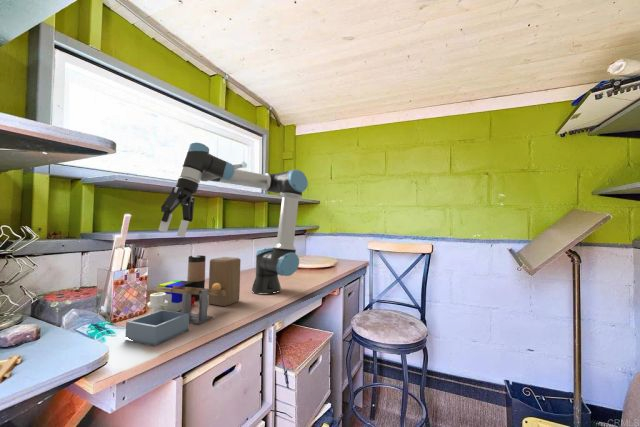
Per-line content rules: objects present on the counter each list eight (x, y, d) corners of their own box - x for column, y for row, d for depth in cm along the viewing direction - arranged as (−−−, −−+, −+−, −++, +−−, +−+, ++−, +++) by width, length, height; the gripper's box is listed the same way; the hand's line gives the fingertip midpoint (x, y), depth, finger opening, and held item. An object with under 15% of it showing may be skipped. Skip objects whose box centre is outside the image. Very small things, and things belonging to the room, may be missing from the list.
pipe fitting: (171, 313, 105) (172, 292, 106) (154, 319, 98) (155, 297, 99) (159, 311, 107) (160, 291, 108) (142, 316, 101) (143, 295, 101)
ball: (215, 291, 112) (216, 282, 113) (222, 292, 111) (223, 283, 112) (209, 291, 109) (210, 282, 109) (216, 292, 108) (217, 283, 108)
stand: (189, 314, 104) (190, 285, 104) (213, 318, 100) (214, 288, 101) (174, 320, 97) (176, 289, 98) (199, 324, 94) (200, 292, 94)
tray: (161, 325, 92) (162, 309, 92) (188, 330, 89) (189, 313, 89) (125, 340, 80) (126, 321, 80) (154, 346, 77) (155, 326, 77)
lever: (198, 293, 115) (200, 285, 116) (225, 296, 111) (227, 288, 111) (153, 290, 94) (156, 281, 95) (184, 294, 90) (186, 284, 91)
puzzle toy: (178, 311, 108) (179, 286, 109) (157, 309, 110) (158, 284, 111) (194, 304, 118) (195, 281, 118) (174, 302, 120) (175, 280, 120)
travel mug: (199, 300, 123) (201, 257, 124) (183, 300, 123) (185, 257, 124) (206, 296, 131) (208, 255, 132) (191, 296, 131) (193, 255, 132)
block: (207, 304, 118) (208, 258, 119) (222, 298, 127) (224, 256, 128) (225, 307, 114) (226, 260, 115) (240, 301, 124) (241, 257, 125)
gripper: (192, 188, 116) (177, 236, 111) (162, 166, 91) (142, 226, 87) (209, 192, 116) (195, 239, 111) (184, 170, 91) (164, 231, 87)
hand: (172, 234), depth 99 cm, fingers open, 13 cm apart
